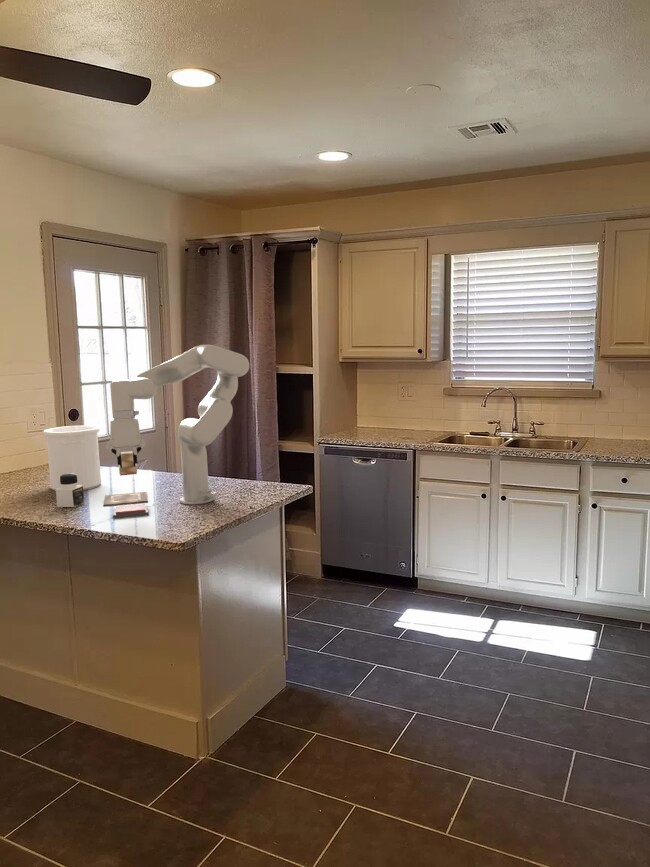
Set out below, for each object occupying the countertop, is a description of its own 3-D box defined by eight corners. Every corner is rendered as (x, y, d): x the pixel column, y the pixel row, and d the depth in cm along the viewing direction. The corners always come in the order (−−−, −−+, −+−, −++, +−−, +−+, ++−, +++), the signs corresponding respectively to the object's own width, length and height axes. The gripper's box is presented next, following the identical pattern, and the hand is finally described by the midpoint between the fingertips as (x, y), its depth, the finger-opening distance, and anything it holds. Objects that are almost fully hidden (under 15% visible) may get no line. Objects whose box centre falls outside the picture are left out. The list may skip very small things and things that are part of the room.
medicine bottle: (74, 508, 253) (71, 476, 251) (56, 507, 254) (54, 476, 252) (84, 503, 260) (82, 472, 258) (67, 502, 261) (65, 472, 259)
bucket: (107, 489, 282) (103, 429, 279) (50, 496, 273) (44, 434, 269) (99, 478, 305) (95, 423, 302) (46, 484, 296) (41, 427, 292)
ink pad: (148, 508, 248) (147, 503, 248) (148, 515, 239) (148, 509, 239) (113, 511, 245) (113, 506, 245) (113, 518, 236) (112, 513, 235)
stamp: (136, 470, 245) (135, 450, 244) (137, 474, 239) (135, 453, 238) (119, 472, 243) (117, 451, 242) (119, 475, 238) (117, 454, 237)
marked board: (146, 493, 273) (146, 491, 273) (147, 502, 258) (147, 500, 258) (105, 496, 269) (104, 495, 269) (103, 506, 254) (103, 504, 254)
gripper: (147, 412, 244) (151, 462, 247) (98, 415, 239) (103, 466, 242) (148, 414, 237) (152, 465, 240) (98, 417, 232) (102, 470, 235)
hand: (127, 465), depth 241 cm, fingers closed on stamp, 4 cm apart
